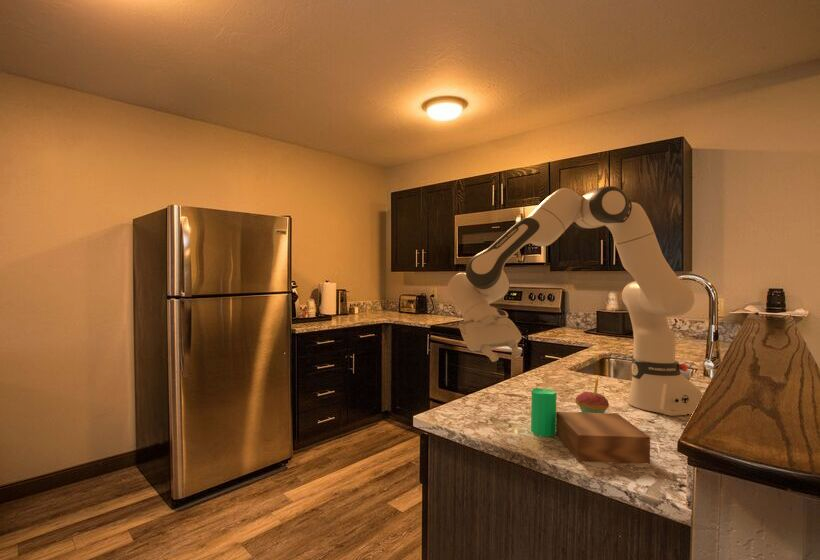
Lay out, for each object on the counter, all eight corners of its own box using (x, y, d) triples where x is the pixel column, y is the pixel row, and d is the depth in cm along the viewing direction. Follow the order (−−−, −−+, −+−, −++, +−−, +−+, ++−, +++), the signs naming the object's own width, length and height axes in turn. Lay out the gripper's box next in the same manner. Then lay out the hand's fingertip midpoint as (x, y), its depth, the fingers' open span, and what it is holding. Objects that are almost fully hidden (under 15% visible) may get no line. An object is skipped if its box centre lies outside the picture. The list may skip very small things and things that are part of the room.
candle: (557, 437, 101) (558, 388, 100) (532, 435, 102) (532, 387, 102) (553, 428, 106) (554, 382, 106) (529, 426, 108) (530, 381, 107)
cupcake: (615, 422, 112) (616, 378, 112) (589, 424, 110) (590, 380, 109) (593, 411, 120) (594, 371, 120) (568, 414, 118) (569, 372, 118)
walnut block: (616, 437, 102) (617, 413, 102) (649, 465, 87) (650, 437, 87) (555, 435, 103) (556, 411, 103) (577, 463, 88) (578, 435, 88)
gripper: (461, 314, 113) (488, 355, 105) (509, 311, 125) (536, 347, 118) (450, 328, 116) (474, 369, 109) (498, 324, 129) (523, 360, 121)
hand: (507, 358), depth 113 cm, fingers open, 8 cm apart
